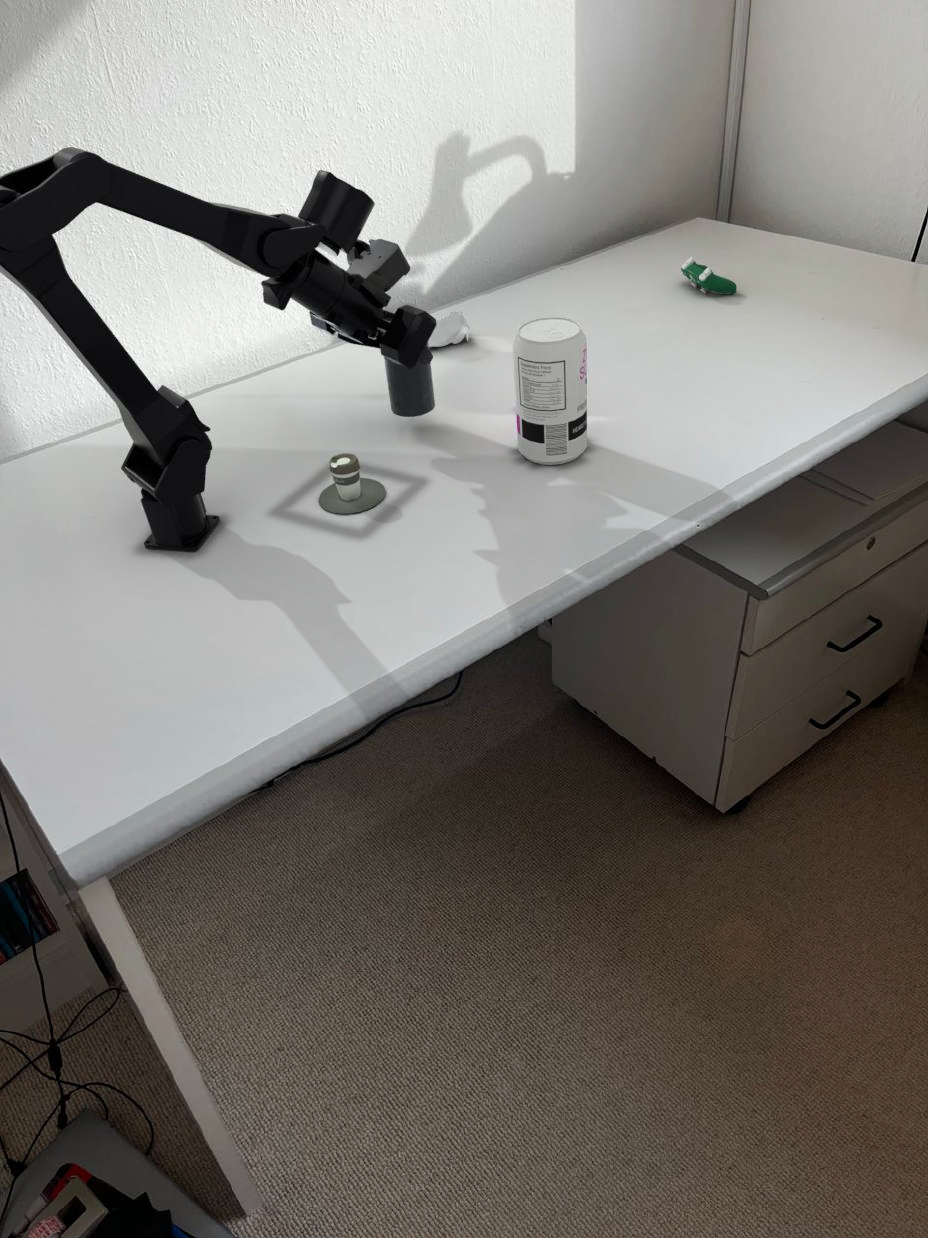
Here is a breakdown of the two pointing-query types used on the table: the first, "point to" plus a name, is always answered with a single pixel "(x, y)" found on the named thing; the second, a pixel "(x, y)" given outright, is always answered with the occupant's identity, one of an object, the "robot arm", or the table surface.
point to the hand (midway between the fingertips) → (415, 353)
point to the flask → (409, 383)
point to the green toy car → (707, 278)
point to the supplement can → (551, 389)
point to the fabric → (449, 330)
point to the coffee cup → (350, 488)
